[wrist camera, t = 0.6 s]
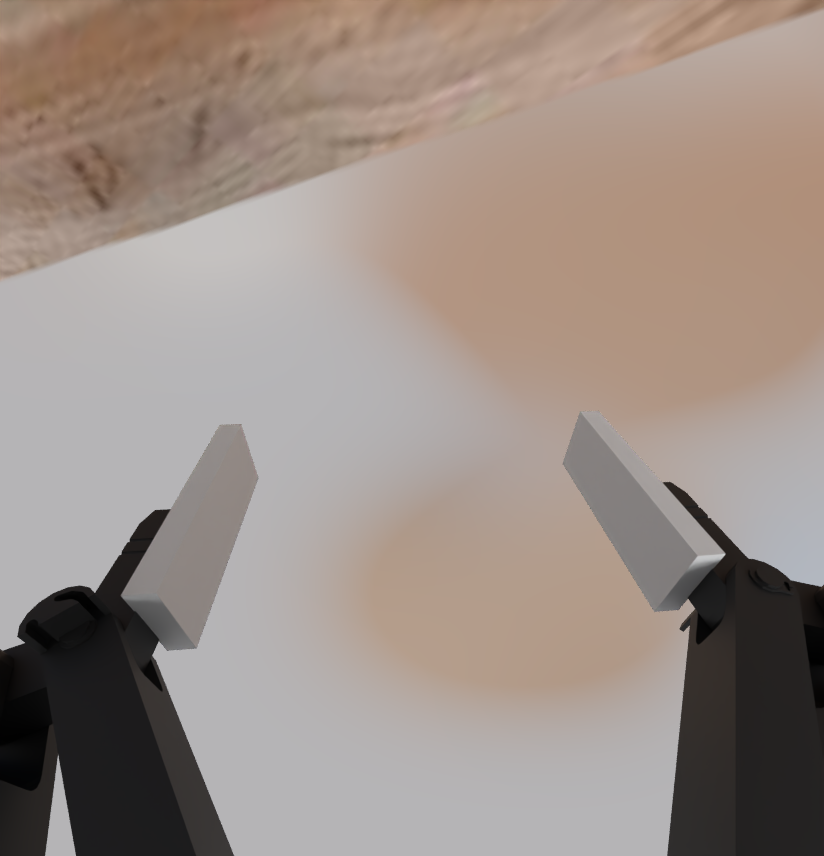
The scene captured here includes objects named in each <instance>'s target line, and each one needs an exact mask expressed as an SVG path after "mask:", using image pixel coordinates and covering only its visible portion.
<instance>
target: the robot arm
mask: <svg viewBox="0 0 824 856" xmlns="http://www.w3.org/2000/svg"><path fill="white" fill-rule="evenodd" d="M563 465H564V466H565V468H566V470H567V471H568V473H569V475H570V476H571V478H572V479H573V481H574V483H575V484H576V486H577V488H578V489H579V491H580V492H581V494H582V495H583V497H584V498H585V500H586V502H587V504H588V505H589V507H590V509H591V510H592V512H593V513H594V515H595V517H596V518H597V520H598V521H599V523H600V525H601V526H602V528H603V530H604V531H605V533H606V534H607V536H608V538H609V539H610V541H611V543H612V544H613V546H614V547H615V549H616V550H617V552H618V554H619V555H620V557H621V559H622V560H623V562H624V564H625V565H626V567H627V568H628V570H629V572H630V573H631V575H632V576H633V578H634V580H635V581H636V583H637V585H638V586H639V588H640V589H641V591H642V593H643V594H644V596H645V597H646V599H647V601H648V602H649V604H650V606H651V607H652V609H653V610H654V611H655V612H656V611H669V610H679V609H680V607H681V606H682V605H683V604H684V603H685V602H686V600H687V599H689V600H690V602H691V603H692V605H693V606H694V607H695V610H694V611H693V612H692V613H691V614H690V615H689V616H688V618H687V619H686V620H685V621H684V622H683V623H682V625H681V627H680V630H682V631H685V629H686V628H687V627H688V626H690V631H689V642H688V651H687V662H686V671H685V681H684V692H683V702H682V712H681V723H680V732H679V742H678V752H677V763H676V773H675V783H674V793H673V804H672V813H671V823H670V834H669V844H668V854H667V856H824V585H823V586H822V587H819V586H815V585H810V584H805V583H800V582H796V581H791V580H790V579H789V578H788V577H786V575H784V574H783V573H782V572H780V571H779V570H778V569H776V568H774V567H772V566H771V565H768V564H767V563H765V562H761V561H758V560H755V559H748V558H747V557H746V556H745V555H744V554H743V553H742V552H741V551H740V550H739V548H738V547H737V546H736V545H735V544H734V543H733V542H732V541H731V540H730V539H729V538H728V537H727V536H726V535H725V533H724V532H723V531H722V530H721V529H720V528H719V527H718V526H717V525H716V524H715V523H714V522H713V521H712V520H711V518H708V515H707V514H706V513H705V512H704V511H703V510H702V509H701V508H699V507H698V505H697V503H695V501H694V500H693V499H692V498H691V497H690V496H689V495H688V494H687V493H686V492H685V491H683V490H682V489H680V488H678V487H677V486H676V485H674V484H673V483H671V482H661V481H660V480H659V478H658V477H657V476H656V475H655V474H654V473H653V472H652V470H651V469H650V468H649V467H648V466H647V465H646V464H645V463H644V461H643V460H642V459H641V458H640V457H639V456H638V455H637V454H636V452H635V451H634V450H633V449H632V448H631V447H630V446H629V445H628V443H627V442H626V441H625V440H624V439H623V438H622V437H621V436H620V435H619V433H618V432H617V431H616V430H615V429H614V428H613V427H612V425H610V423H609V422H608V421H607V420H606V419H605V418H604V416H603V415H602V414H601V413H600V412H599V411H583V412H580V413H579V416H578V419H577V422H576V425H575V429H574V431H573V434H572V437H571V440H570V443H569V446H568V449H567V452H566V455H565V458H564V461H563ZM257 480H258V475H257V472H256V469H255V466H254V463H253V460H252V457H251V454H250V450H249V447H248V445H247V441H246V438H245V435H244V432H243V429H242V426H241V424H235V425H234V424H233V425H220V426H219V427H218V429H217V431H216V432H215V435H214V436H213V438H212V439H211V441H210V443H209V444H208V446H207V448H206V450H205V452H204V453H203V455H202V457H201V458H200V460H199V462H198V463H197V465H196V467H195V469H194V470H193V472H192V474H191V475H190V477H189V479H188V481H187V482H186V484H185V486H184V488H183V489H182V491H181V493H180V495H179V497H178V498H177V500H176V501H175V503H174V505H173V507H172V508H171V509H168V510H155V511H154V512H152V513H151V514H150V515H149V516H148V517H147V518H146V519H145V520H143V521H142V522H141V523H140V524H139V526H138V527H137V529H136V530H135V532H134V533H133V535H132V536H131V538H130V542H128V543H127V544H126V546H125V547H124V549H123V550H122V554H121V555H119V557H118V558H117V560H116V561H115V563H114V564H113V566H112V567H111V569H110V571H109V572H108V574H107V575H106V577H105V579H104V580H103V581H102V583H101V585H100V586H99V588H98V589H97V591H96V593H94V592H93V591H92V590H91V589H90V588H89V587H84V586H74V587H68V588H65V589H63V590H61V591H58V592H56V593H53V594H52V595H50V596H48V597H47V598H46V599H44V600H42V601H41V602H39V603H38V604H37V605H36V606H35V607H34V608H33V609H32V610H31V611H30V612H29V613H28V614H27V615H26V617H25V618H24V620H23V621H22V623H21V624H20V626H19V631H18V636H17V637H19V638H20V639H21V640H22V641H24V642H25V643H24V644H21V645H18V646H15V647H13V648H9V649H7V650H4V651H2V650H1V649H0V856H45V852H46V844H47V836H48V828H49V820H50V812H51V805H52V797H53V789H54V781H55V773H56V765H57V757H58V755H59V761H60V767H61V772H62V778H63V784H64V789H65V795H66V800H67V807H68V812H69V818H70V824H71V829H72V835H73V841H74V846H75V852H76V856H234V855H233V852H232V850H231V847H230V845H229V842H228V840H227V837H226V835H225V832H224V830H223V827H222V825H221V822H220V820H219V817H218V815H217V812H216V810H215V807H214V805H213V802H212V800H211V797H210V795H209V792H208V790H207V787H206V785H205V782H204V780H203V777H202V775H201V772H200V770H199V767H198V765H197V762H196V760H195V757H194V755H193V752H192V750H191V747H190V745H189V742H188V740H187V737H186V735H185V732H184V730H183V727H182V725H181V722H180V720H179V717H178V715H177V712H176V710H175V707H174V705H173V702H172V700H171V697H170V695H169V692H168V690H167V687H166V685H165V682H164V680H163V677H162V675H161V672H160V670H159V667H158V665H157V662H156V660H155V659H154V658H153V657H152V654H153V653H154V650H155V648H156V646H157V644H158V641H159V642H160V643H161V644H162V645H163V646H164V648H165V649H166V650H167V651H169V650H182V649H194V648H197V645H198V643H199V640H200V637H201V634H202V632H203V629H204V626H205V624H206V621H207V618H208V615H209V613H210V610H211V607H212V604H213V602H214V599H215V596H216V593H217V590H218V588H219V585H220V582H221V580H222V577H223V574H224V571H225V568H226V566H227V563H228V560H229V557H230V554H231V552H232V549H233V547H234V544H235V541H236V538H237V536H238V533H239V530H240V527H241V525H242V522H243V519H244V516H245V514H246V511H247V508H248V505H249V502H250V500H251V497H252V494H253V491H254V489H255V486H256V483H257Z"/></svg>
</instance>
